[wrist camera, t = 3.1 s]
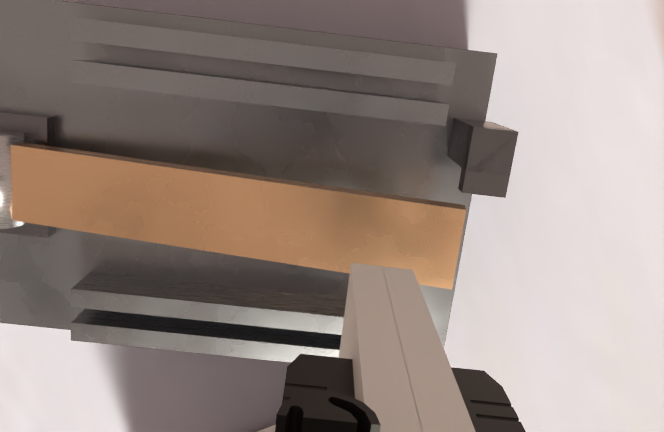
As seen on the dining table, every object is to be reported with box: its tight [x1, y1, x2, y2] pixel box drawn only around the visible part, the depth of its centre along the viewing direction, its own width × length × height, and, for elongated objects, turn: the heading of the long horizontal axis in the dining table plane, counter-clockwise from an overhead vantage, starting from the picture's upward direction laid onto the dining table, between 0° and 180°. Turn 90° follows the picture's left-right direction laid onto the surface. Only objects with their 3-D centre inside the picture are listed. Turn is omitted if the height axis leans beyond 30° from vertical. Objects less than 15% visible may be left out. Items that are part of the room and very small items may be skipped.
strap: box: [0, 130, 466, 290], centre depth 22 cm, size 19×4×2 cm, turn 83°
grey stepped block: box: [0, 0, 518, 363], centre depth 25 cm, size 21×14×8 cm
